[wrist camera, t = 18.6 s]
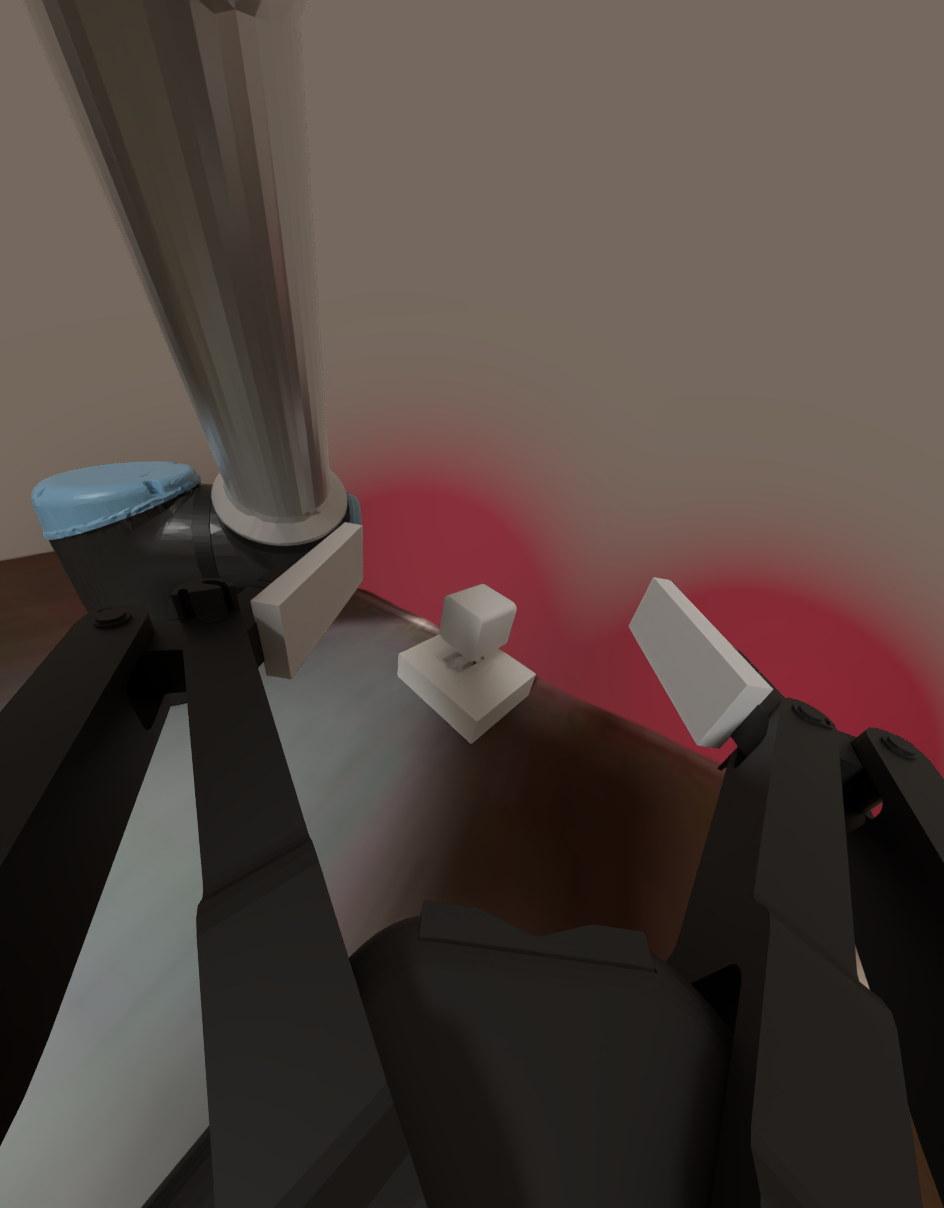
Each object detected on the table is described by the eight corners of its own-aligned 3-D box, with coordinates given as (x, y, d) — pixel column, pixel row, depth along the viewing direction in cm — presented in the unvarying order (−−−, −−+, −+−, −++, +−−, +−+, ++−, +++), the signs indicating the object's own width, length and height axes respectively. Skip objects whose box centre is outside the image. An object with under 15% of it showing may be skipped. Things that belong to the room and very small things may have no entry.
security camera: (501, 667, 45) (518, 604, 40) (463, 690, 41) (476, 622, 35) (469, 642, 49) (481, 581, 43) (430, 660, 44) (439, 595, 39)
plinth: (397, 676, 46) (398, 653, 44) (458, 643, 54) (461, 623, 52) (471, 744, 39) (477, 721, 37) (528, 694, 47) (536, 674, 45)
